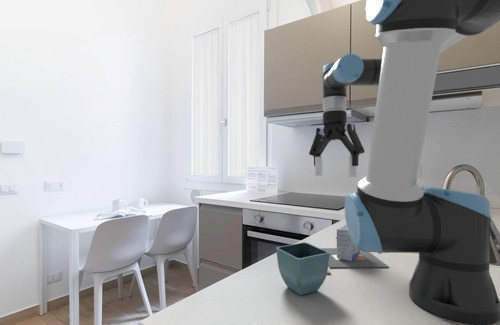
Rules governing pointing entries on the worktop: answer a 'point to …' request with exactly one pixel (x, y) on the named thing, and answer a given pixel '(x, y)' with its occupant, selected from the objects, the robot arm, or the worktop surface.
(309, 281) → the flower pot
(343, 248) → the medicine box
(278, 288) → the worktop surface
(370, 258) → the mat
